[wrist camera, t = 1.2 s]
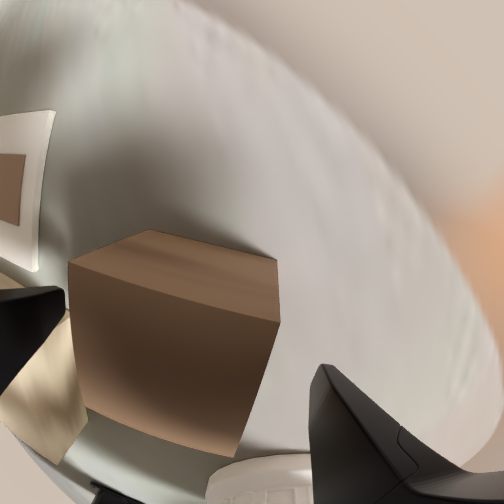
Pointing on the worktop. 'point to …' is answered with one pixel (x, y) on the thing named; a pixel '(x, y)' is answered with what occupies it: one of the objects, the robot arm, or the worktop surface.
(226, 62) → the worktop surface
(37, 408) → the birch plinth
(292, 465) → the decorative container
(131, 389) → the walnut cube
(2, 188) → the card
